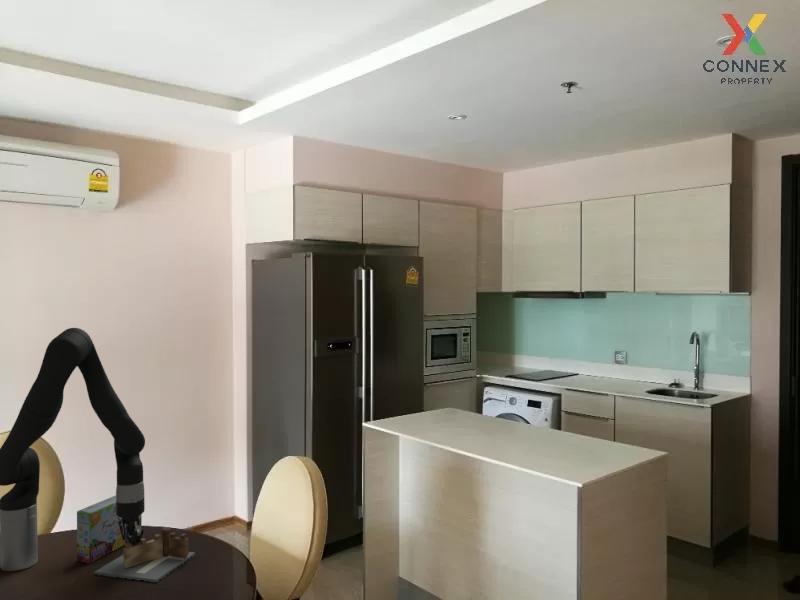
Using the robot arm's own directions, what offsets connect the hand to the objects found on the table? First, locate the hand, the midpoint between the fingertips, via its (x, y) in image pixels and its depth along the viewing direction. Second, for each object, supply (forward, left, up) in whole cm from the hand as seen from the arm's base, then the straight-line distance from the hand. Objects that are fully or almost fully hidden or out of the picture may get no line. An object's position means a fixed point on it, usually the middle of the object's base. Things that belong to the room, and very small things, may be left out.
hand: (131, 556), depth 180 cm
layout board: (+5, +1, -2) cm, 5 cm away
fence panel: (+4, 0, -1) cm, 4 cm away
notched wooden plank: (+10, +6, -2) cm, 12 cm away
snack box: (-13, +8, -2) cm, 16 cm away
